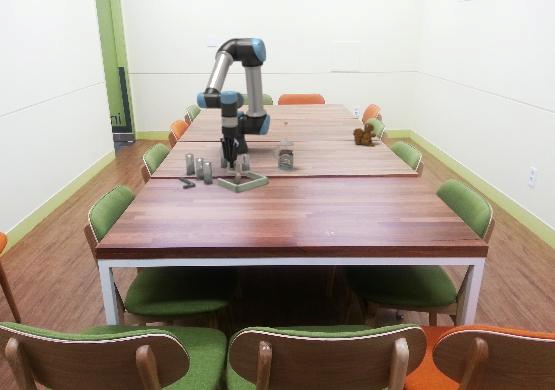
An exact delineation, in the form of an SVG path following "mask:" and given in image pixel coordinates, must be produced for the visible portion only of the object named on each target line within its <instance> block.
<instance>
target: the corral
mask: <svg viewBox="0 0 555 390" xmlns="http://www.w3.org/2000/svg"><path fill="white" fill-rule="evenodd" d="M245 176H246V177H247V178H249V179H252V181H248V182H244V183H239V184H236V183H233V182H230V181H228V180H224V179H223V178H221V177H218V178H216V182H217V183H216V185H218V186H219V187H221V188H225V189H227V190H229V191H231V192H234V193H236V194H238V193H242V192H245V191H249V190H251V189H254V188H258V187H261V186H264V185H268V184H269V177H268V176H265V175H263V174H260V173H256V172H254V171H251V170H250V171H249V170H248V175H245Z"/></svg>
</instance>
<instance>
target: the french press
mask: <svg viewBox="0 0 555 390" xmlns="http://www.w3.org/2000/svg"><path fill="white" fill-rule="evenodd" d="M283 124H284V125H288V121H284V122H283ZM294 145H295V143H294V142H292V141H291V140H288V139H285V140H281V141H279V142H278V145H276V146H275V147H274V148H273V151H272V152H275V150H276V148H277V150H279V149H280V147H291V146H294ZM293 152H294V151H293V149H287V148H285V149H280V150H279V151H278V158H277V157H276V155H275V153H272V156H273V158H274V159H275V160H276V161H277V166H278V167H277V168H276V171H277V172H280V173H292V172H294V171H296V168H295V166H294V153H293Z"/></svg>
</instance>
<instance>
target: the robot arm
mask: <svg viewBox="0 0 555 390" xmlns="http://www.w3.org/2000/svg"><path fill="white" fill-rule="evenodd" d="M214 59H215V62H214V65H213V68H212V70H211V74H210V75H209V76H210V77H209V79H208V82H207V84H206V87H205V89H204V92H203V91H201V92H199V93H197V96H196V102H197V103H196V104H197V106H198V107H199V108H200V109H206V110H208V109H211V110H212V109H213V110H216V109H218V110H219V109H220V112H221V113H220V114H221V117H220V118H221V119H220V120H221V121H220V122H221V125H222V126H221V135H223V137H221V138H219V140H220V144H221V148H222V149H223V155H224V159H226V160H227V168H226V169H227V170H226V172H227V171H233V168H234V161H236V162H237V160H238V155H241V154H244V153H248V152H249V146H248V144H247V141H246V140H247V139H246V136H245V135H249V136H267V134H268V133H269V129H270V125H271V116H270V115H269V114H268V113H267V110H266V109H265V108H264V95H263V94H264V93H263V81H262V67H263V66H264V62H266V60H267V49H266V45H265V42H264V40H263V39H262V38H258V37H257V38H256V37H249V38H248V37H246V38H245V37H244V38H243V37H242V38H239V37H238V38H230V39H228V40H226V41H225V42H224V43H222V45H221V46H220V47H219V48H218V49H217V51H216V53H215V56H214ZM235 62H240V63H241V66H242V67H243V69H244V74H245V82H246V86H245V87H246V96H247V105H248V106H247V107H248V110H247V111H246V113H245V111H243V110H239V109H240V108H242V107H243V106H244V104H245V103H246V98H245V95H244V94H243V93H241V92H239V91H234V90H224V91H222V89H223V86H224V84H225V81H226V78H227V75H228V72H229V70H230V67H231V66H232V65H233V63H235Z"/></svg>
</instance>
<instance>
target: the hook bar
mask: <svg viewBox="0 0 555 390" xmlns="http://www.w3.org/2000/svg"><path fill="white" fill-rule="evenodd" d="M178 180H179V181H180V182H182V183H184V184H185V185H182V189H183V190H188V189H191V188H196V187H197V186H196V183H195V182H192V181H191V180H189V179H188V178H185V177H183V176H178Z"/></svg>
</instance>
